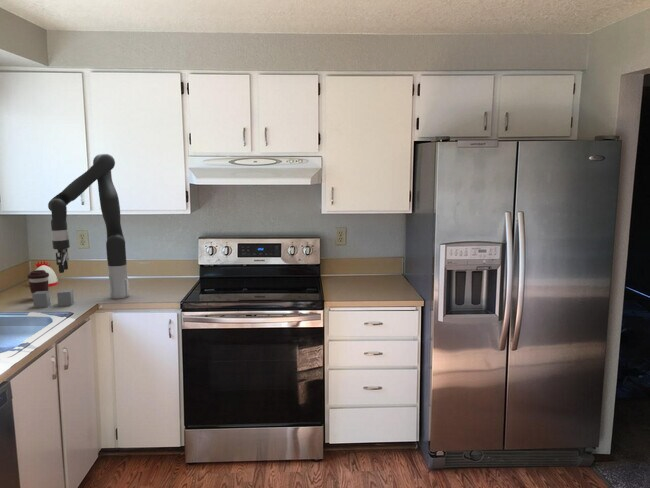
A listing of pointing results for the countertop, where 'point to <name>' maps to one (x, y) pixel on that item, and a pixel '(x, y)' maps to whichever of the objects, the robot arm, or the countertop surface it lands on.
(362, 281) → the countertop surface
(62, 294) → the matte grey cube
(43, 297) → the plain grey cube
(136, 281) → the countertop surface
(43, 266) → the kitchen timer
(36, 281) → the coffee cup
